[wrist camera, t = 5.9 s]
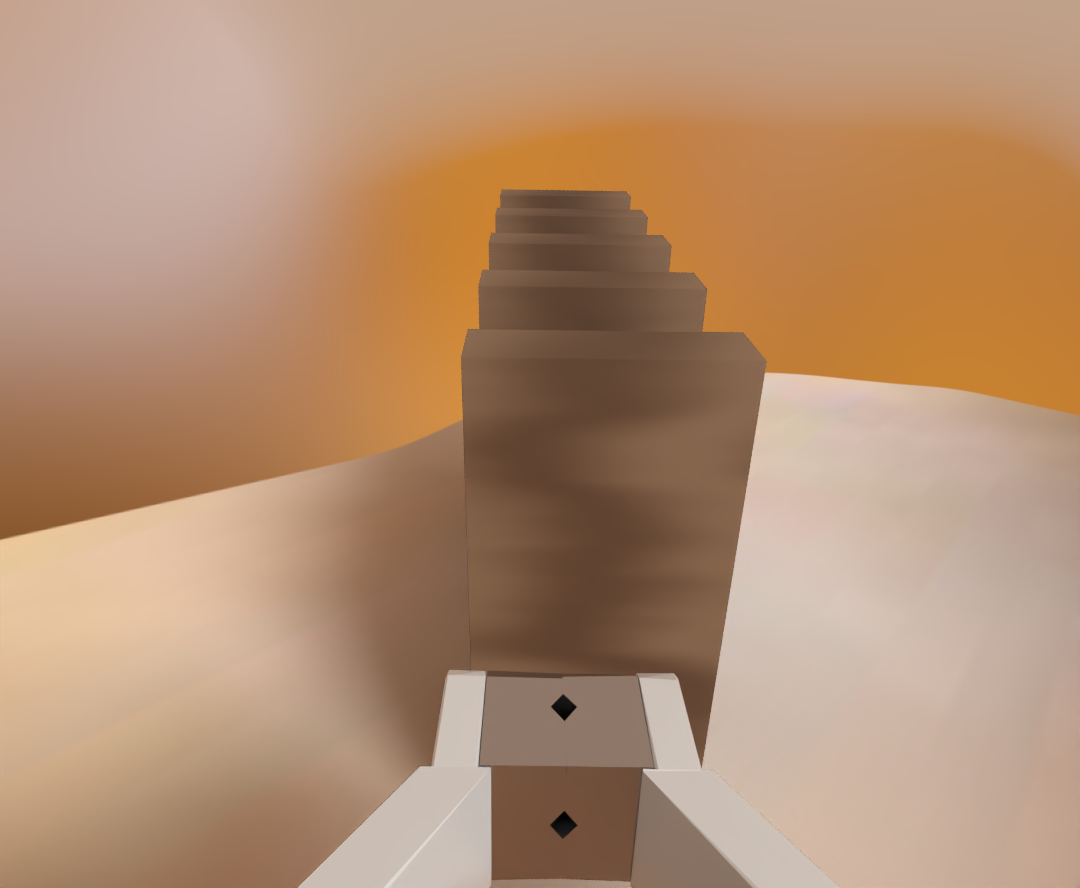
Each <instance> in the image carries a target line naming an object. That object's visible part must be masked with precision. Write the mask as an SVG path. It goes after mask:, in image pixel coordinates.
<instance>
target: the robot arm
mask: <svg viewBox="0 0 1080 888" xmlns="http://www.w3.org/2000/svg"><path fill="white" fill-rule="evenodd" d="M515 879H579V880H604V881H628V882H631V884H630V885H631V887H632V888H840V887H839V886H838V885H836V884H835V883H834V882H833V881H832V880H831V879H830V878H829V877H828V876H827V875H826V874H825V873H824V872H822V871H821V870H820V869H819V868H818V867H817V866H816V865H815V864H814V863H813V862H812V861H811V860H810V859H808V858H807V857H806V856H805V855H804V854H803V853H802V852H801V851H800V850H799V849H798V848H797V847H795V846H794V845H793V844H792V843H791V842H790V841H789V840H788V839H787V838H786V837H785V836H784V835H783V834H781V833H780V832H779V831H778V830H777V829H776V828H775V827H774V826H773V825H772V824H771V823H770V822H769V821H767V820H766V819H765V818H764V817H763V816H762V815H761V814H760V813H759V812H758V811H757V810H756V809H755V808H753V807H752V806H751V805H750V804H749V803H748V802H747V801H746V800H745V799H744V798H743V797H742V796H741V795H739V794H738V793H737V792H736V791H735V790H734V789H733V788H732V787H731V786H730V785H729V784H728V783H726V782H725V781H724V780H723V779H722V778H721V777H720V776H719V775H718V774H717V773H716V772H715V771H713V770H702V769H701V765H700V761H699V758H698V754H697V750H696V746H695V742H694V738H693V734H692V731H691V727H690V723H689V719H688V715H687V711H686V707H685V704H684V700H683V696H682V692H681V688H680V684H679V680H678V678H677V677H676V675H675V674H674V673H637V674H636V675H635V674H562V673H538V672H513V671H488V672H486V671H470V670H449V671H448V673H447V676H446V678H445V684H444V690H443V696H442V702H441V708H440V715H439V721H438V727H437V733H436V739H435V745H434V751H433V758H432V764H431V766H419V767H418V768H417V769H416V770H415V771H414V772H413V773H412V774H411V775H410V776H409V777H408V778H407V779H406V780H405V781H404V782H403V783H402V784H401V785H400V786H399V787H398V788H397V789H396V790H395V791H394V792H393V793H392V794H391V795H390V796H389V797H388V798H387V799H386V800H385V801H384V802H383V803H382V804H381V805H380V806H379V807H378V808H377V809H376V810H375V811H374V812H373V813H372V814H371V815H370V816H369V817H368V818H367V819H366V820H365V821H364V822H363V823H362V824H361V825H360V826H359V827H358V828H357V829H356V830H355V831H354V832H353V833H352V834H351V835H350V836H349V837H348V838H347V839H346V840H345V841H344V842H343V843H342V844H341V845H340V846H339V847H338V848H337V849H336V850H335V851H334V852H333V853H332V854H331V855H330V856H329V857H328V858H327V859H326V860H325V861H324V862H323V863H322V864H321V865H320V866H319V867H318V868H317V869H316V870H315V871H314V872H313V873H312V874H311V875H310V876H309V877H308V878H307V879H306V880H305V881H304V882H303V883H302V884H301V885H300V886H299V887H298V888H490V886H491V880H515Z"/></svg>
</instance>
